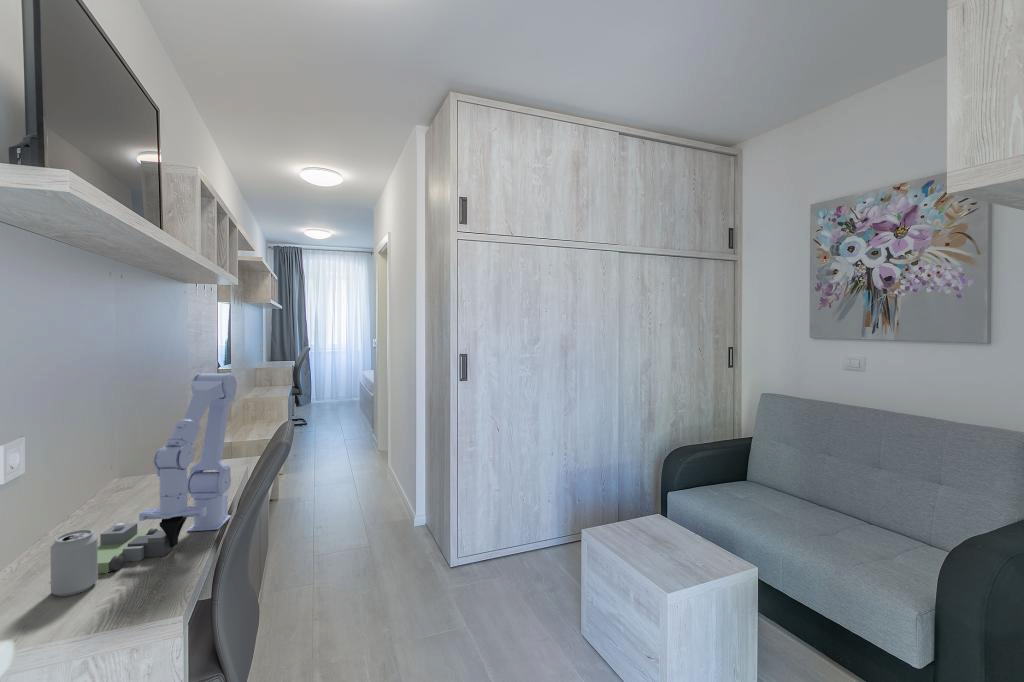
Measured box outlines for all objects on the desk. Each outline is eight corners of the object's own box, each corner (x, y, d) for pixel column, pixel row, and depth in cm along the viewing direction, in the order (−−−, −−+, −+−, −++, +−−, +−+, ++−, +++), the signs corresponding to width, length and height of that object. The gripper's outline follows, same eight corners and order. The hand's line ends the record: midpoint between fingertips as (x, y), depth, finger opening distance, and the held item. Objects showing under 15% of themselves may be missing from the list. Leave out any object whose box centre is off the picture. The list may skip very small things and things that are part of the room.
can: (62, 582, 104) (62, 529, 104) (104, 577, 107) (103, 525, 106) (42, 601, 97) (42, 544, 97) (87, 594, 100) (87, 539, 99)
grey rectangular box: (138, 550, 119) (138, 532, 119) (173, 547, 121) (173, 529, 121) (127, 558, 115) (127, 539, 115) (164, 555, 116) (164, 537, 116)
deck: (108, 541, 124) (108, 518, 124) (169, 537, 127) (169, 514, 127) (55, 577, 106) (55, 550, 106) (127, 571, 109) (127, 545, 109)
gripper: (131, 500, 113) (131, 555, 113) (197, 497, 116) (197, 550, 116) (148, 490, 120) (148, 542, 120) (210, 487, 123) (210, 538, 123)
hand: (173, 545), depth 119 cm, fingers closed
